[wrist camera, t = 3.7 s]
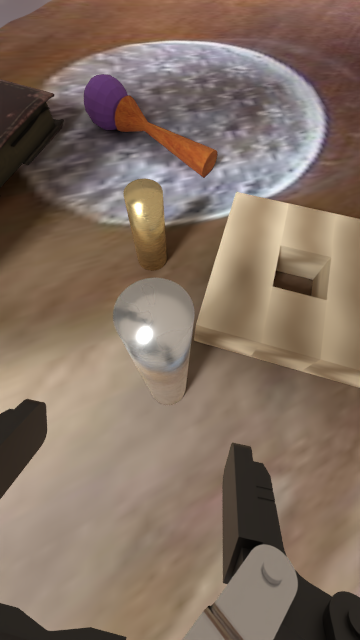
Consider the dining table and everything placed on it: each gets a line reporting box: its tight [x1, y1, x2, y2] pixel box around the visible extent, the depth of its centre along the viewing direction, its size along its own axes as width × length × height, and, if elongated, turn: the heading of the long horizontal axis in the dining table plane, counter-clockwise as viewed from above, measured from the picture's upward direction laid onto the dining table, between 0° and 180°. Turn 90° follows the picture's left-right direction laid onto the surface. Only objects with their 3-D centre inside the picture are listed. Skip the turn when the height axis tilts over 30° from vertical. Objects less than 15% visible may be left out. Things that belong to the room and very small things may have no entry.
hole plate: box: [194, 192, 360, 388], centre depth 28 cm, size 16×16×4 cm
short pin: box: [124, 179, 167, 271], centre depth 27 cm, size 3×3×9 cm
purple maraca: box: [84, 74, 217, 177], centre depth 37 cm, size 6×6×20 cm
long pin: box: [113, 278, 194, 405], centre depth 18 cm, size 3×3×16 cm
